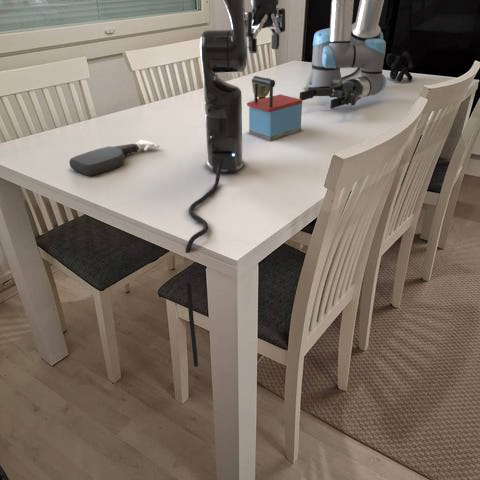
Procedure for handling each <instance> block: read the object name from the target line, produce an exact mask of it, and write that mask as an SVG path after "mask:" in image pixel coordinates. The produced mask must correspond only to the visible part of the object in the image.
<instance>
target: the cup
mask: <svg viewBox="0 0 480 480" xmlns="http://www.w3.org/2000/svg"><path fill="white" fill-rule="evenodd" d="M261 77H262V76H261ZM262 78H264V77H262ZM266 78H267V79H271V78H270V77H266ZM251 86H252V93H253V94H254V83H253V82H252V81H251ZM268 95H270V87H266V86H262V85H258V100H260V99H264V98H267V96H268Z"/></svg>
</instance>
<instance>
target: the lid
mask: <svg viewBox="0 0 480 480" xmlns="http://www.w3.org/2000/svg"><path fill="white" fill-rule="evenodd" d="M267 78H268V77H263V78H262V76H258V75H254V76H253V77H252V78H251V83H252V82H253V83H254V93H253V95H254V98H253V100H252V101H249V102H247V103H246V106H247V107H249V106H250V107H253V108H256V109H260V110H263V111H267V112H271V111H275V110H278V109H282V108H285V107H289V106H293V105H296V104H300V103H302V104H303V100H301V99H300V98H296V97H293V96H288V95H284V94H276V95H274V87H275V85H276V81H275V80H274V79H271V78H270V79H269V78H268V79H267ZM258 85H262V86H266V87H270V91H269V96H268V97H266V98H264V99H260V100H258Z"/></svg>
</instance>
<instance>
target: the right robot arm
mask: <svg viewBox="0 0 480 480" xmlns="http://www.w3.org/2000/svg"><path fill="white" fill-rule="evenodd" d="M354 2H355V0H331V6H330V21H329V27H328V28H324V29H320V30H317V31H316V32H315V33H314V35H313V41H312V56H311V57H312V59H311V69H310V73H309V75H308V78H307V80H306V84H305V85H306V86H305V89H306V90H303V91H300V92H299V99H301V100H302V101H305V100H309V99H313V98H314V97H329V98H331V99H330V105H329V107H330V109H336V108H338V107H339V108H340V107H341V106H344V105H346V106H349V105H350V106H355V105H356V104H357V102H358V101H359V100H361V99H363V98H365V97H366V98H367V97H370V96H375V95H377V94H379V93H381V92H383V91H384V90H385V88H386V86H387V80H386V75H385V74H384V73H383V68H384V63H385V58H386V57H385V55H386V49H387V48H386V45H387V43H386V40H384V34H383V32H382V28H381V27H380V25H379V23H380V19H381V15H382V11H383V6H384V2H385V0H359V4H358V9H357V14H356V19H355V22H353V16H354V15H353V14H354V5H355V3H354ZM341 69H355V71H353V72H352V73H350V74H348V75H344V76H342V74H341ZM359 70H360V76H357V77H353V78H351V77H352V76H354V75H355V74H357V73H358V72H359ZM347 78H349V79H347ZM345 79H346V80H345ZM343 80H344V81H343Z"/></svg>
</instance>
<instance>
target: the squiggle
mask: <svg viewBox="0 0 480 480" xmlns="http://www.w3.org/2000/svg"><path fill="white" fill-rule="evenodd" d="M401 57H402V59H401ZM391 59H392V60H391ZM393 60H394V61H393ZM385 61H386V64H387V67H390V68H391V70H390V72H389V78H390V79H391V80H395V79H396V81H397V82H399V83H400V82H402V81H403V79H404V76H406V78H407V80H408V81H412V80H413V79H414V77H413V75H412V74H411V73H410V72H409V71H410V70H412V69H413V68H414V64H413V61H412V57H411V54H410V53H409V52H408V51H403V53H402V54H401V55H396V54H394V53H392V52H390V53H387V55H386V57H385ZM406 62H407V65H408V66H407V67H405V66H404V65H405V64H406ZM400 70H401V71H400Z"/></svg>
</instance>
